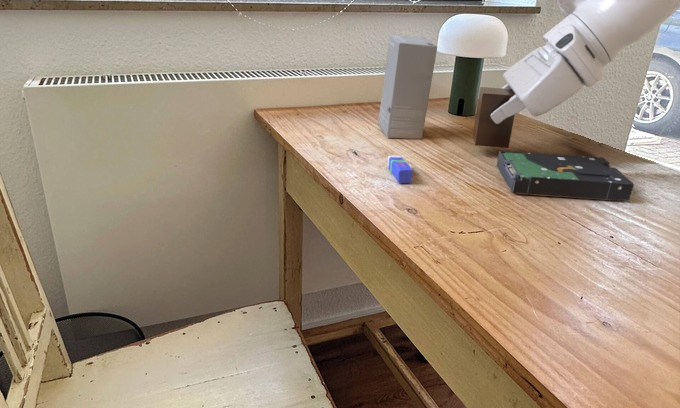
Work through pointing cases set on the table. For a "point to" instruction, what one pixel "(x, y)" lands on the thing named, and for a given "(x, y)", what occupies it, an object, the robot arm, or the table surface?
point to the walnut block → (484, 125)
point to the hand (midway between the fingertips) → (490, 114)
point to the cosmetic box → (406, 86)
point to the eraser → (400, 169)
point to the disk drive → (563, 176)
